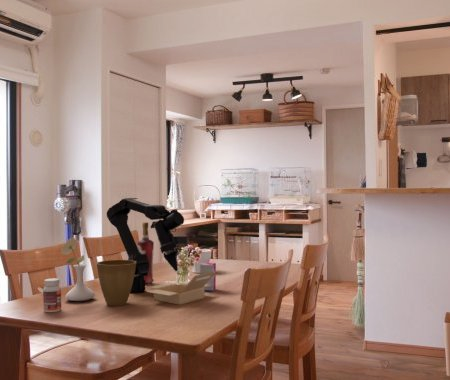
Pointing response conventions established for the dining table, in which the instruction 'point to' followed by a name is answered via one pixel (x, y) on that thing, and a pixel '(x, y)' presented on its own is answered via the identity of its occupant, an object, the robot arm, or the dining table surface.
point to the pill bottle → (52, 295)
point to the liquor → (147, 252)
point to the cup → (202, 260)
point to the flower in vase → (79, 290)
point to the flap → (198, 281)
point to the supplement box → (207, 269)
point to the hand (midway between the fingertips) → (176, 270)
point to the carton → (176, 293)
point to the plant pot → (116, 280)
